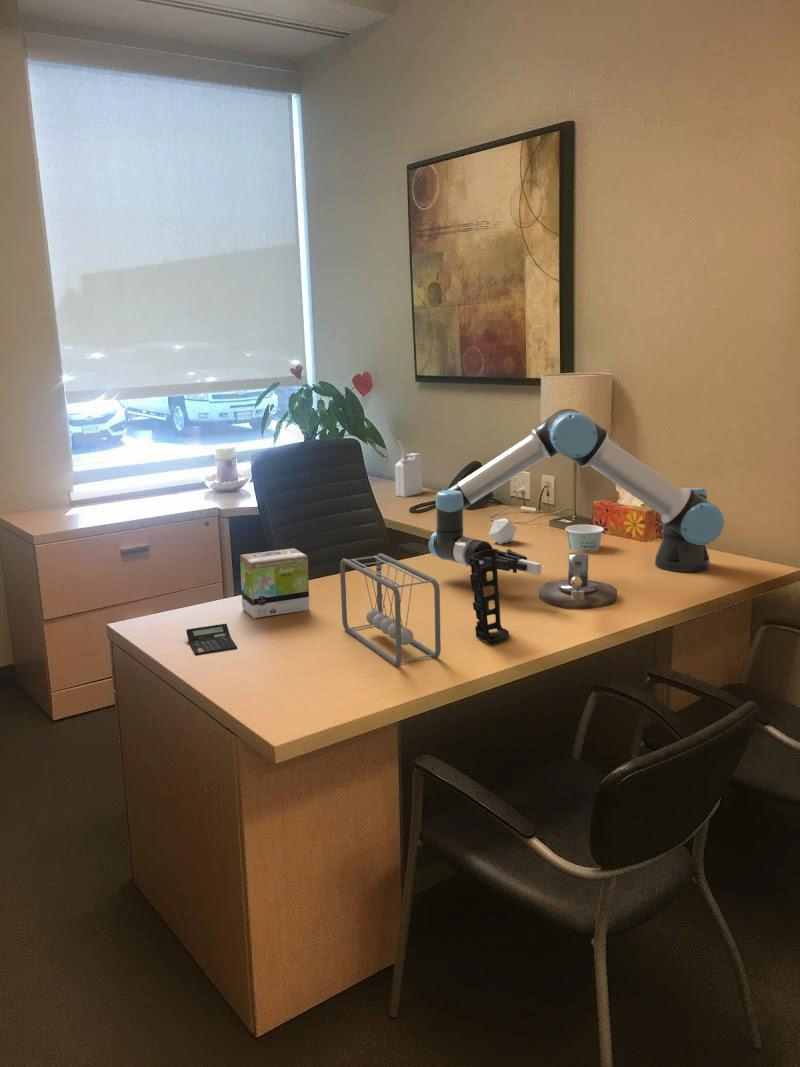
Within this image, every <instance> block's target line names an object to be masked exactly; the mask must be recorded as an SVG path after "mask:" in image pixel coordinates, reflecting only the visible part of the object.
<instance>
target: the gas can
mask: <svg viewBox="0 0 800 1067" xmlns="http://www.w3.org/2000/svg"><path fill="white" fill-rule="evenodd" d="M396 442H397V443H398V446H399V447H400V450H401V459H399V460H398V461H397V462H396V463H394V464H395V465H394V477H395V478H394V481H395V484H394V486H395V496H396V497H400V498H407V497H412V496H415V495H419V494H422V493H423V465H422V464H423V463H422V460H423V458H422V457H423V456H422V454H421V453H417V452H411V453H408V454H407V453H405V450H404V446H403V443H402V442H401V441H400V439H396Z"/></svg>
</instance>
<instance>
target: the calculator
mask: <svg viewBox="0 0 800 1067" xmlns="http://www.w3.org/2000/svg"><path fill="white" fill-rule="evenodd" d="M185 631H186V636H187V641H188V644H189V646H190V648H191V650H192V652H193V654H194V655H195V656H199V655H206V654H213V653H219V652H224V651H225V652H226V651H233V650H237V649H238V646H237V644H236V643H235V641H234V640H233V638H232V637H231V633H230V631H229V627H228V624H227V622H226V623H220V624H214V625H208V626H199V627H193V628H188V629H186V630H185Z"/></svg>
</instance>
